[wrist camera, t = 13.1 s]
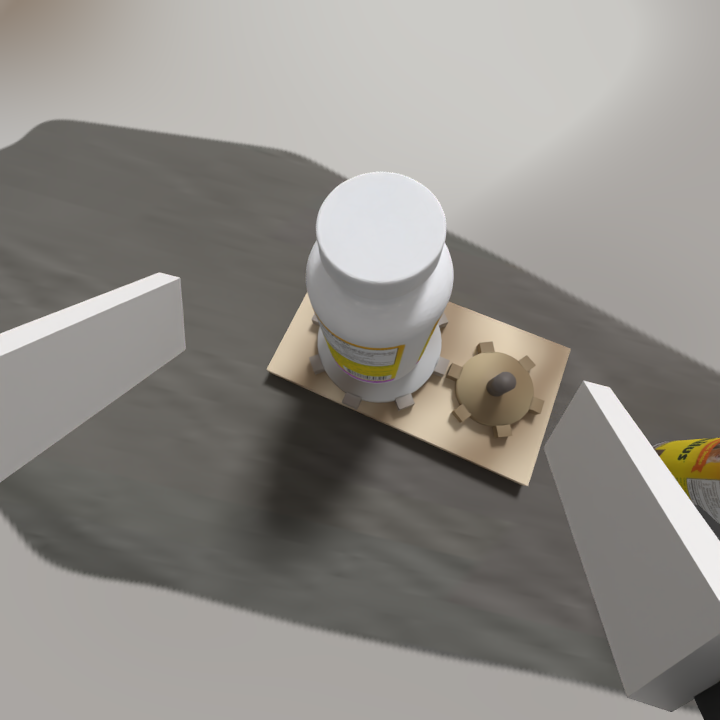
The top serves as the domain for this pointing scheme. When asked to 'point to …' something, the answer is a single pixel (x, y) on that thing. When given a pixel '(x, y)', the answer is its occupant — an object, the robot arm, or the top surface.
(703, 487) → the supplement bottle
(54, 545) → the top surface
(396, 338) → the supplement bottle
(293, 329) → the gear board
